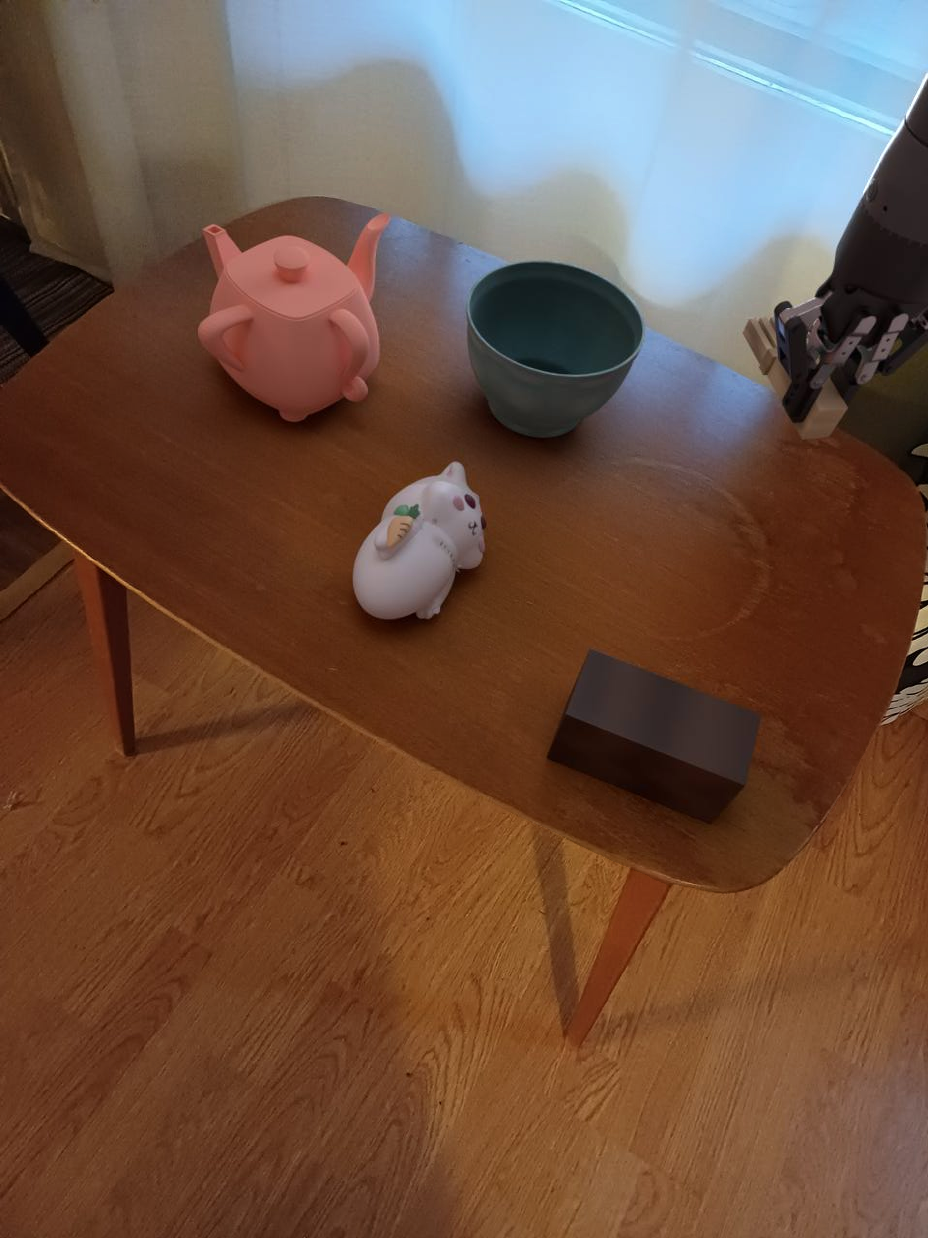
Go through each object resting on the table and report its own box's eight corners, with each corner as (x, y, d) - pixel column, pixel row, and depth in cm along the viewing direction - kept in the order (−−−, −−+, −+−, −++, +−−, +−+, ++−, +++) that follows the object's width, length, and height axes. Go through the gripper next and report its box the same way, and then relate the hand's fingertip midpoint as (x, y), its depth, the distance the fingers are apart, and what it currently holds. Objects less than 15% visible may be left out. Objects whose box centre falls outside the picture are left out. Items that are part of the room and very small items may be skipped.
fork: (832, 436, 72) (852, 407, 69) (798, 440, 71) (816, 410, 69) (771, 330, 78) (787, 299, 75) (739, 332, 77) (754, 301, 75)
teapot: (214, 318, 93) (199, 193, 82) (383, 323, 96) (390, 202, 85) (207, 434, 84) (189, 311, 73) (393, 436, 87) (403, 318, 76)
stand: (727, 757, 72) (761, 714, 66) (711, 824, 68) (745, 785, 62) (569, 694, 73) (589, 647, 67) (546, 757, 70) (565, 713, 64)
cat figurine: (377, 572, 66) (479, 433, 72) (302, 560, 71) (404, 430, 77) (433, 655, 72) (523, 520, 79) (361, 639, 77) (451, 512, 84)
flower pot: (478, 333, 96) (493, 240, 87) (628, 376, 95) (659, 286, 86) (433, 436, 87) (444, 344, 78) (598, 485, 86) (628, 397, 77)
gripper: (854, 247, 54) (748, 457, 68) (1050, 237, 57) (909, 439, 72) (799, 176, 58) (710, 388, 72) (985, 170, 61) (864, 374, 76)
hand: (810, 413), depth 72 cm, fingers closed on fork, 2 cm apart
